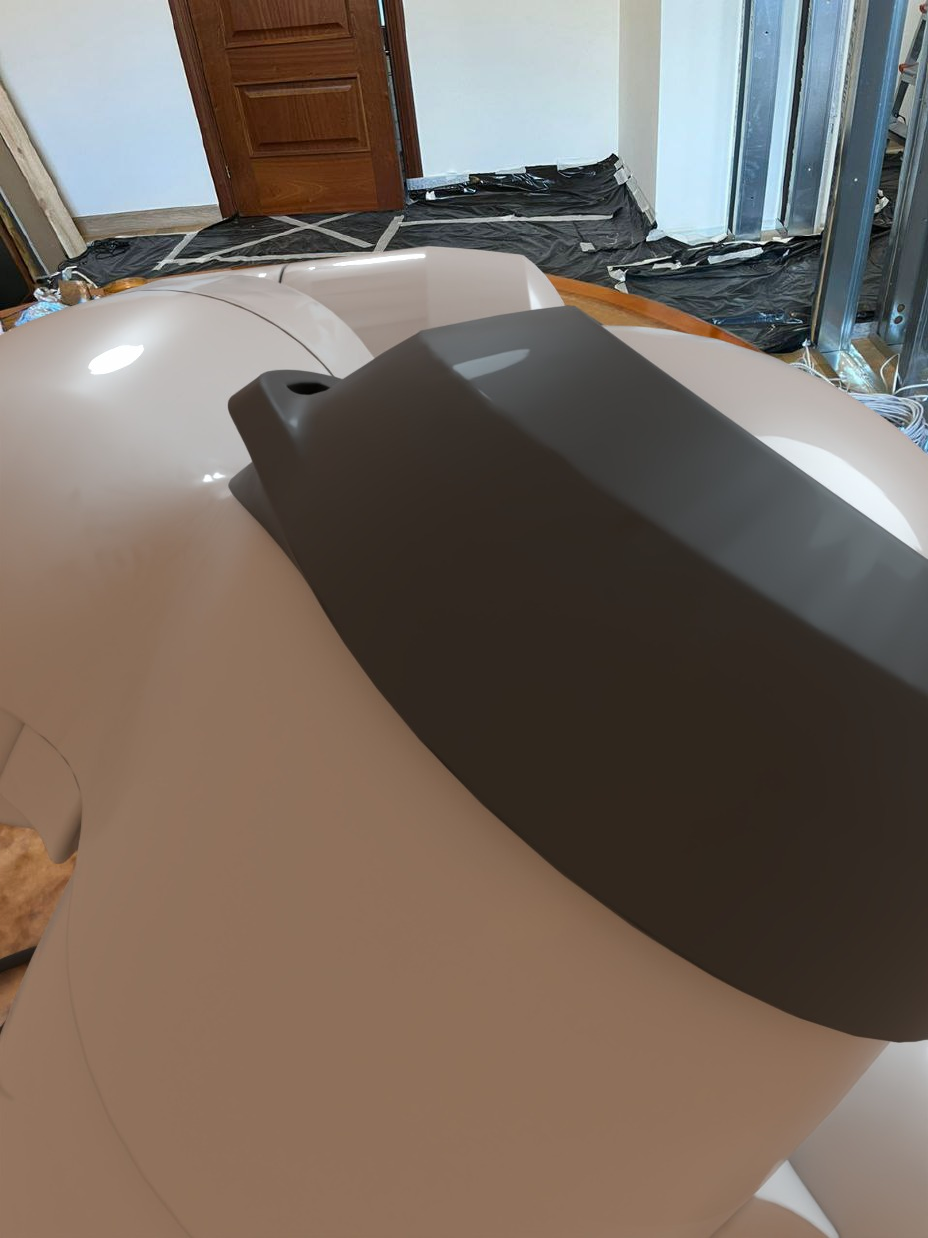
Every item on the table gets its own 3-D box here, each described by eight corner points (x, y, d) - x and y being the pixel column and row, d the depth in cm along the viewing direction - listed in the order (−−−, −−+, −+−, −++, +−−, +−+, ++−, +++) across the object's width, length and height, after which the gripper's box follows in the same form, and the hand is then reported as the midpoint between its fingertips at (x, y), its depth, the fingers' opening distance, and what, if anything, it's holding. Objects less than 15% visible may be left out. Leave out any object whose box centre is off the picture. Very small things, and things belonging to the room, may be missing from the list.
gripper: (1072, 666, 54) (920, 550, 65) (788, 765, 51) (675, 626, 61) (1040, 733, 58) (902, 614, 69) (775, 828, 55) (671, 688, 65)
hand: (793, 620), depth 65 cm, fingers closed on packet, 5 cm apart
